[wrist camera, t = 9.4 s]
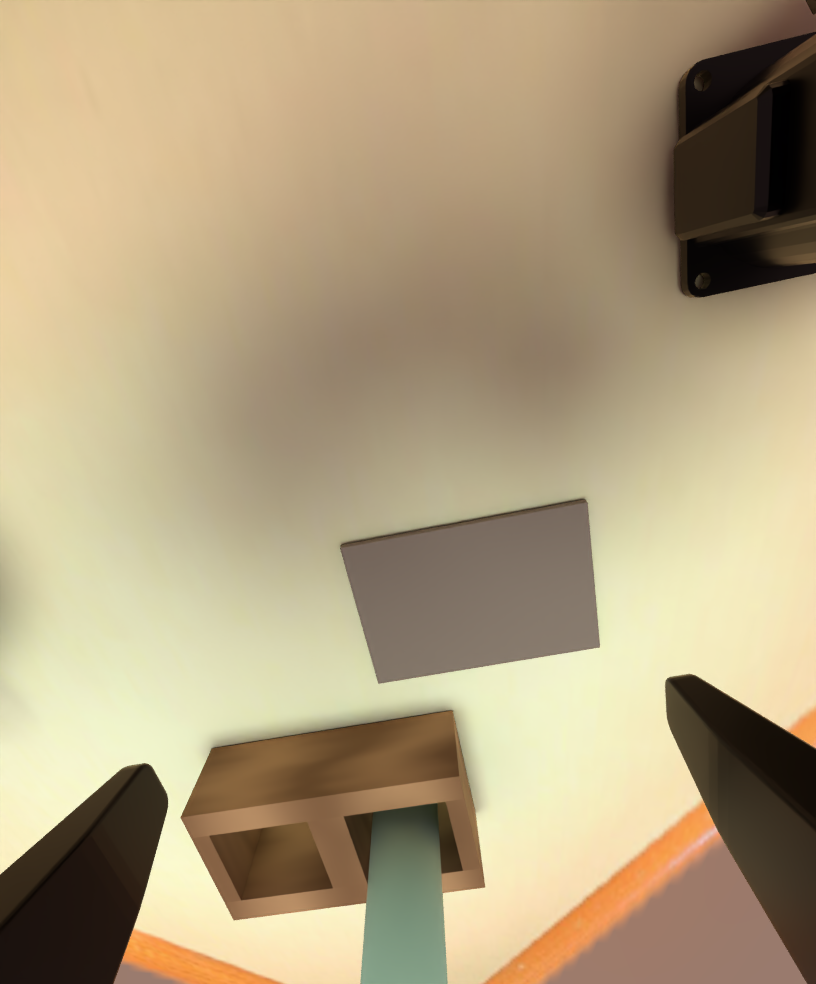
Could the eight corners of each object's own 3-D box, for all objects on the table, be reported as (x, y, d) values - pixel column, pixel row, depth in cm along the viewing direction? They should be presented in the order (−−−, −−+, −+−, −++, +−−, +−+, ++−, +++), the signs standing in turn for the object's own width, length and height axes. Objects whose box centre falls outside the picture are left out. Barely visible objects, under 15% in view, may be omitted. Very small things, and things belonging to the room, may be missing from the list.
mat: (584, 499, 20) (587, 502, 19) (597, 642, 22) (599, 647, 22) (341, 544, 20) (340, 548, 20) (378, 678, 23) (378, 683, 22)
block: (452, 710, 23) (459, 776, 20) (475, 813, 26) (485, 887, 22) (211, 748, 24) (180, 817, 21) (255, 844, 27) (233, 920, 23)
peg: (429, 746, 24) (440, 981, 16) (440, 789, 25) (456, 1032, 17) (369, 755, 24) (348, 992, 16) (383, 798, 25) (370, 1042, 17)
